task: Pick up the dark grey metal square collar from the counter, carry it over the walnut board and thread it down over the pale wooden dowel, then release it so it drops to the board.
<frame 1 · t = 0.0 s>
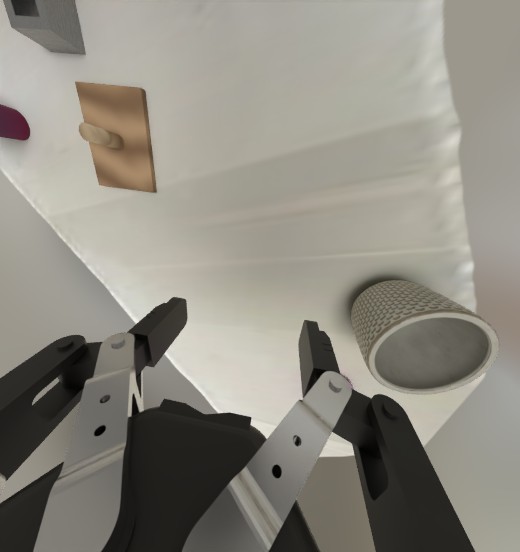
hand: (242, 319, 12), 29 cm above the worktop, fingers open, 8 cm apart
planter: (379, 301, 42), on the worktop
cup: (18, 125, 36), on the worktop
collar: (62, 25, 29), on the worktop
post board: (122, 143, 35), on the worktop
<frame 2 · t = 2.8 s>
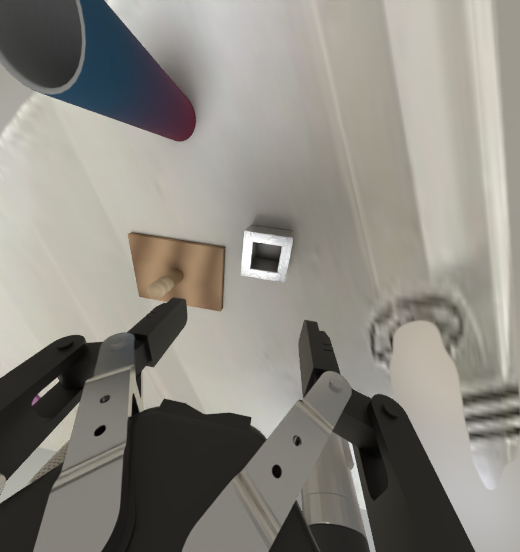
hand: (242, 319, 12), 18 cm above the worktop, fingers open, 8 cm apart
planter: (117, 423, 59), on the worktop
cup: (177, 118, 23), on the worktop
collar: (268, 247, 29), on the worktop
post board: (180, 272, 33), on the worktop
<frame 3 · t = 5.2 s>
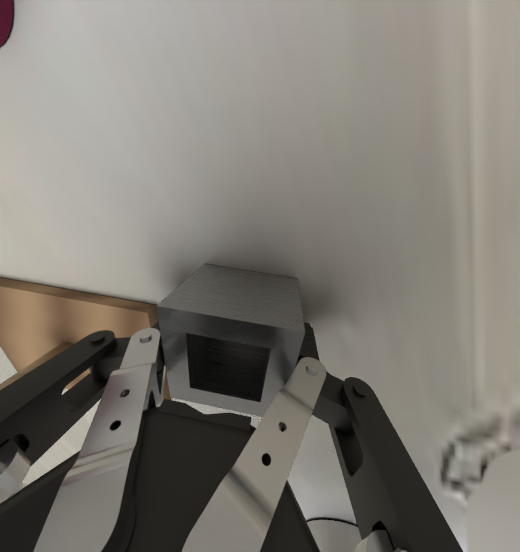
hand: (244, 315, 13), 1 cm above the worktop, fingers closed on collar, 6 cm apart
collar: (246, 309, 13), on the worktop, touching gripper
post board: (84, 343, 17), on the worktop
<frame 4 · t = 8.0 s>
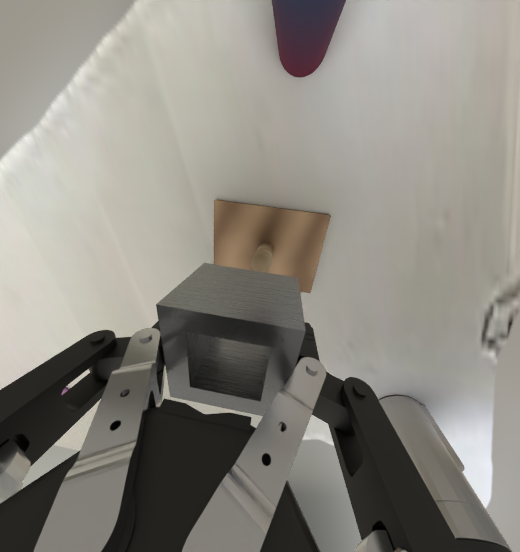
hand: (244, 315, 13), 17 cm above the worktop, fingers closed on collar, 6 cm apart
cup: (302, 45, 19), on the worktop
collar: (246, 309, 13), point 17 cm above the worktop, touching gripper
post board: (266, 248, 28), on the worktop
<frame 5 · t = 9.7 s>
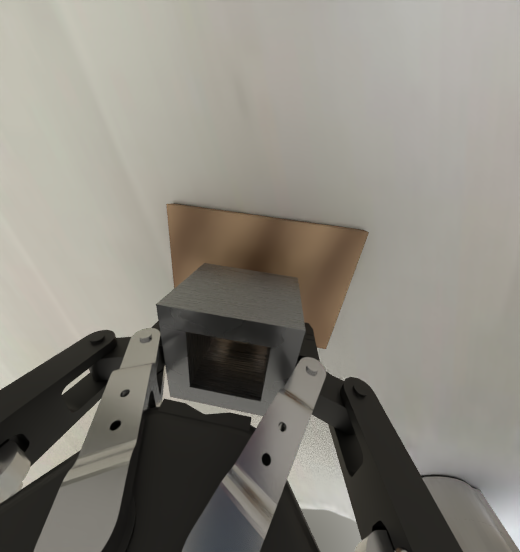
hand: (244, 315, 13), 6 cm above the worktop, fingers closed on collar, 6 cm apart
collar: (246, 309, 13), point 5 cm above the worktop, touching gripper
post board: (257, 280, 18), on the worktop
when the fingers open (4 cm above the worktop, at t = 10.9 s): collar drops 2 cm, resting on post board.
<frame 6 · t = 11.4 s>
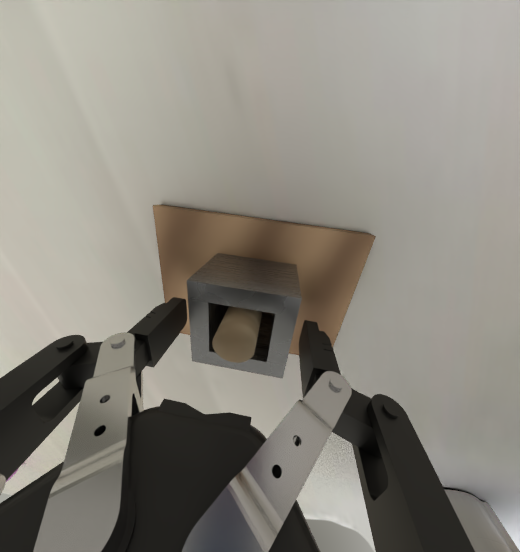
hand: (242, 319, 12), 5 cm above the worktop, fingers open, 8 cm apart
collar: (252, 293, 15), point 1 cm above the worktop, touching post board
post board: (253, 287, 16), on the worktop
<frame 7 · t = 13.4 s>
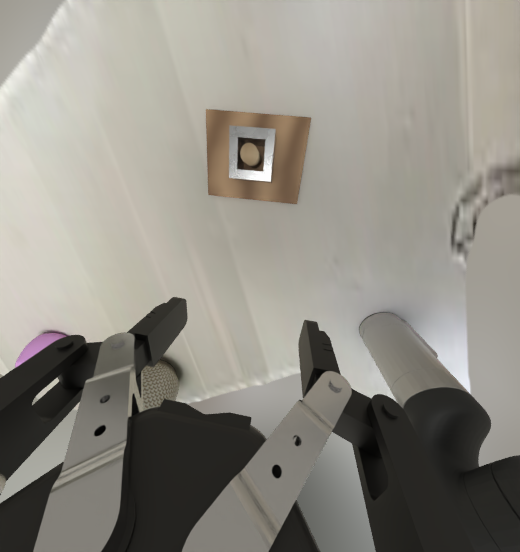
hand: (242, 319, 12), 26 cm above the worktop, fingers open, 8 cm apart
teapot: (64, 347, 58), on the worktop
planter: (162, 368, 58), on the worktop
collar: (255, 160, 30), point 1 cm above the worktop, touching post board
post board: (255, 161, 31), on the worktop
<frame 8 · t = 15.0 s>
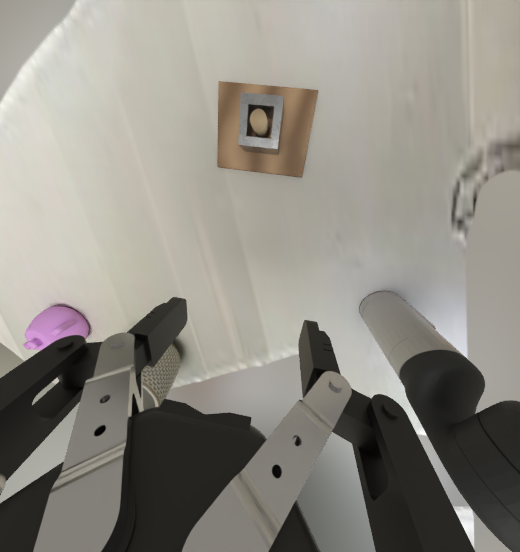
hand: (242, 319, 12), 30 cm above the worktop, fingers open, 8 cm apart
teapot: (71, 321, 60), on the worktop
planter: (165, 346, 59), on the worktop
collar: (263, 132, 32), point 1 cm above the worktop, touching post board
post board: (263, 133, 32), on the worktop
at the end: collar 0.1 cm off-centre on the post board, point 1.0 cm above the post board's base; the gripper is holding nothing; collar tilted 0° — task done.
